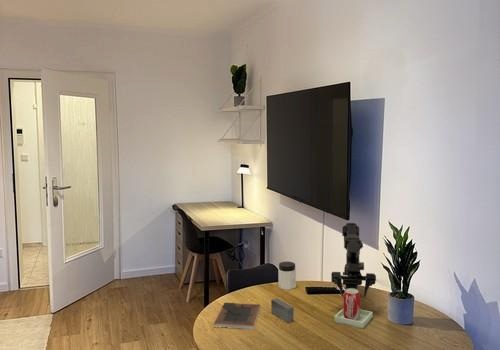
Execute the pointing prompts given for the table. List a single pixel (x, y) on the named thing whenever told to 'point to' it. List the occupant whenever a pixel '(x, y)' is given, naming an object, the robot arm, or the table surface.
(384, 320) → the table surface
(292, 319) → the grey rectangular block
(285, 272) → the jar
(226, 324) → the picture frame
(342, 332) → the table surface
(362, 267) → the robot arm
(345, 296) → the soda can
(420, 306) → the table surface
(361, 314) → the tray
